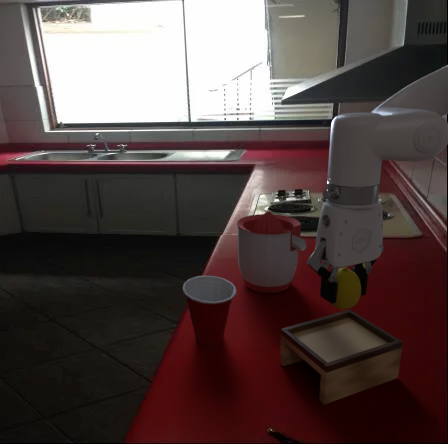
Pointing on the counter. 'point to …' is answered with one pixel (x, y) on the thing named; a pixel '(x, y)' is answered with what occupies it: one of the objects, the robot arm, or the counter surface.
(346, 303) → the lemon
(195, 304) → the plastic cup
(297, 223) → the citrus juicer
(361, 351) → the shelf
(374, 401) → the counter surface
